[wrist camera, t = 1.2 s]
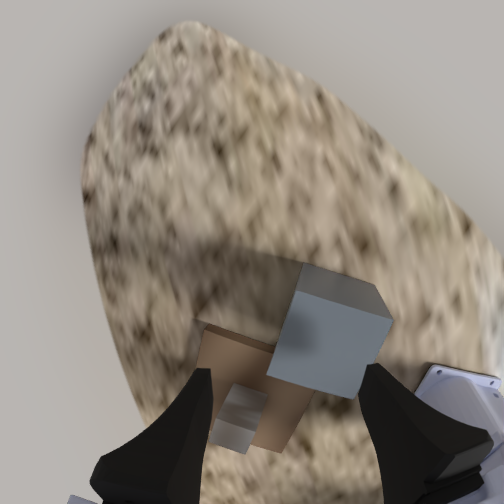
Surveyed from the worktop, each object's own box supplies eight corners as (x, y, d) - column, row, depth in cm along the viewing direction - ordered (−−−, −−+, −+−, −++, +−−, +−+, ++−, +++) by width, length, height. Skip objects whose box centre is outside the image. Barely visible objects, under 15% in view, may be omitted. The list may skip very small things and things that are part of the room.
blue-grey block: (374, 285, 21) (393, 320, 15) (347, 349, 22) (353, 399, 16) (303, 262, 22) (296, 290, 16) (281, 329, 23) (266, 374, 17)
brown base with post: (325, 362, 23) (323, 408, 17) (283, 445, 26) (272, 489, 20) (209, 323, 25) (178, 358, 19) (189, 412, 27) (164, 450, 21)
